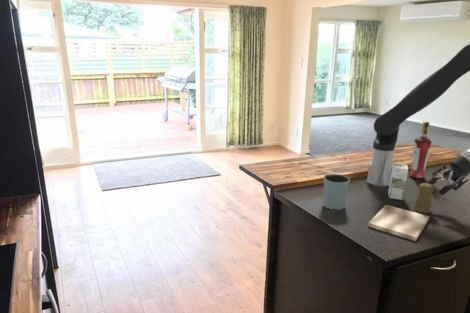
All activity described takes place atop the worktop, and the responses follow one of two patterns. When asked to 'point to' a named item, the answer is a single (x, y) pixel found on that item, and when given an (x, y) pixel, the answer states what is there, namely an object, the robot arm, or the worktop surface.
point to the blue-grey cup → (335, 190)
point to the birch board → (399, 222)
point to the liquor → (420, 153)
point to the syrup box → (397, 181)
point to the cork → (424, 198)
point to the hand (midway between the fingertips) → (433, 189)
